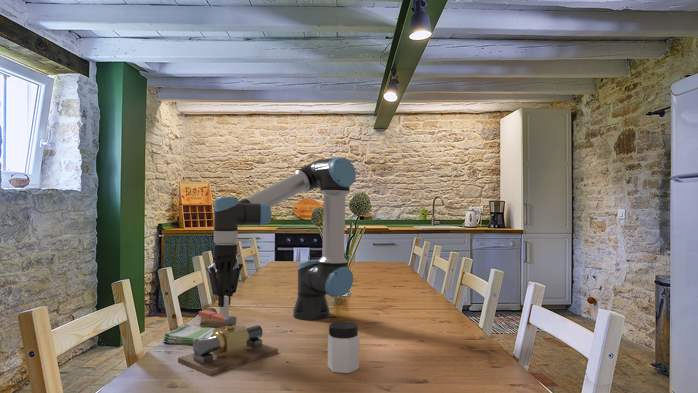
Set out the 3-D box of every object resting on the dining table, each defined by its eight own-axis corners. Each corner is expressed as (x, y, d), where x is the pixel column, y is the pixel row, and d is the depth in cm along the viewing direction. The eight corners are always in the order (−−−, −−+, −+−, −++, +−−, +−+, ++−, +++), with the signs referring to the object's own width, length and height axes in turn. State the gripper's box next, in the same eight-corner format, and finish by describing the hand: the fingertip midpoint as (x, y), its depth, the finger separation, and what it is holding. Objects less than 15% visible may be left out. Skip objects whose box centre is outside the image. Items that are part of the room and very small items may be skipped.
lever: (238, 322, 132) (238, 317, 132) (228, 325, 129) (228, 319, 129) (207, 314, 142) (207, 309, 142) (197, 316, 139) (197, 311, 139)
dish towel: (185, 330, 160) (186, 321, 161) (246, 333, 158) (246, 323, 158) (160, 345, 143) (160, 334, 143) (228, 348, 141) (228, 337, 141)
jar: (342, 360, 129) (342, 319, 129) (364, 367, 124) (364, 324, 124) (321, 368, 122) (321, 325, 123) (343, 376, 117) (343, 331, 117)
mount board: (244, 342, 146) (244, 338, 146) (277, 352, 136) (277, 348, 136) (178, 361, 127) (178, 357, 127) (210, 375, 117) (210, 370, 117)
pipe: (230, 319, 158) (243, 308, 167) (189, 315, 161) (204, 305, 171) (231, 335, 158) (244, 324, 168) (190, 332, 162) (205, 321, 172)
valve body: (251, 341, 142) (251, 315, 142) (265, 346, 138) (266, 318, 138) (189, 360, 125) (190, 329, 125) (204, 365, 120) (204, 334, 121)
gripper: (234, 242, 151) (233, 310, 150) (201, 244, 141) (199, 318, 140) (248, 243, 146) (247, 314, 146) (215, 245, 136) (213, 322, 135)
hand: (224, 316), depth 143 cm, fingers closed
